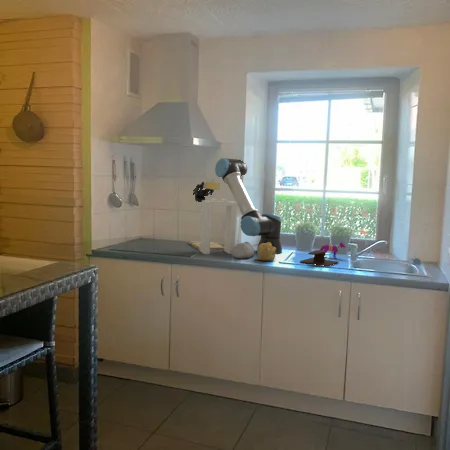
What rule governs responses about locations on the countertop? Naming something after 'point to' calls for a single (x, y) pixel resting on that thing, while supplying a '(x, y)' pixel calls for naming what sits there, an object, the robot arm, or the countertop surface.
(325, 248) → the toy dog
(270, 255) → the stone
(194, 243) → the board
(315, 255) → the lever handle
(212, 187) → the bar
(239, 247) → the decorative stone
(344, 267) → the countertop surface
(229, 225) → the bridge
